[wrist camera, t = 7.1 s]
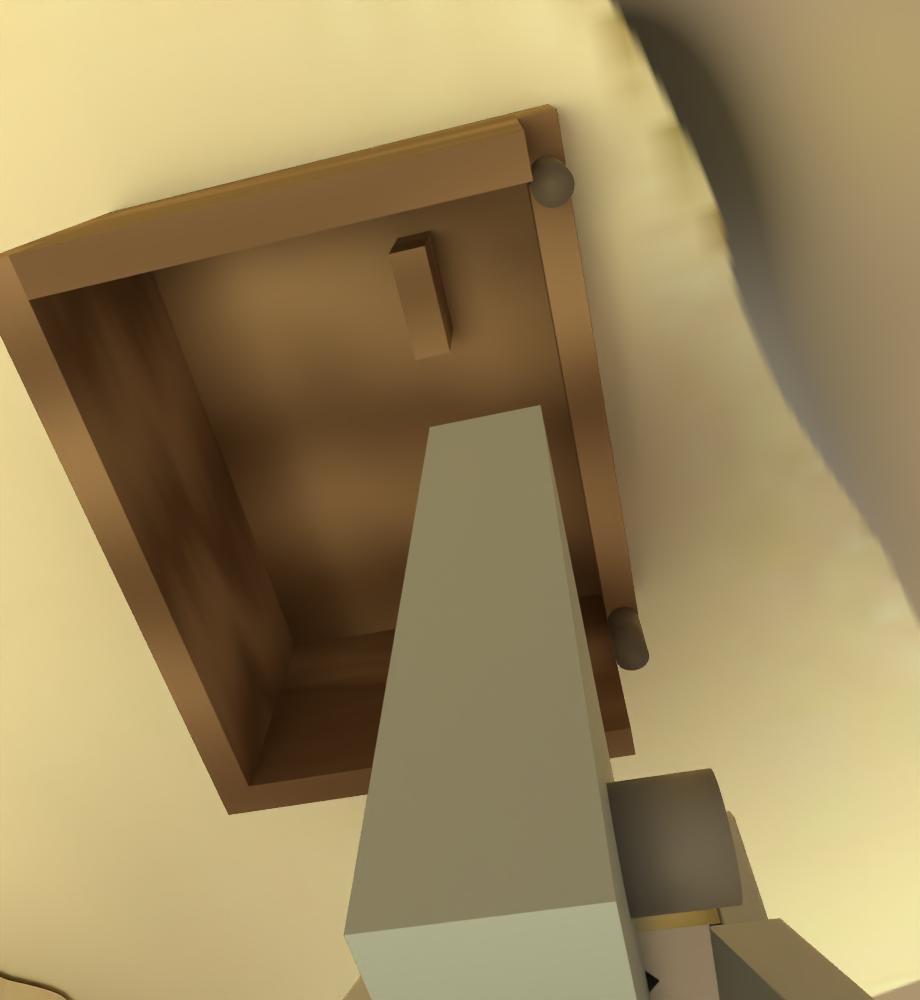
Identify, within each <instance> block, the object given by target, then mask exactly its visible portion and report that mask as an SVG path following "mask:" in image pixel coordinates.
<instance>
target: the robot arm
mask: <svg viewBox="0 0 920 1000" xmlns="http://www.w3.org/2000/svg"><path fill="white" fill-rule="evenodd" d="M726 814H727V818H728V821H729V826H730V830H731V834H732V838H733V843H734V847H735V852H736V857H737V862H738V868H739V873H740V880H741V887H742V896H743V903H742V905H740V906H731V907H723V908H715V909H707V910H699V911H690V912H682V913H674V914H666V915H657V916H649V917H641V918H635V923H636V929H637V935H638V939H639V944H640V949H641V954H642V959H643V964H644V969H645V971H646V977H647V983H648V989H649V994H650V999H651V1000H874V999H873V998H872V997H871V996H870V995H868V994H867V993H866V992H865V991H864V990H863V989H861V988H860V987H859V986H858V985H857V984H856V983H854V982H853V981H852V980H851V979H850V978H849V977H847V976H846V975H845V974H844V973H843V972H842V971H841V970H839V969H838V968H837V967H836V966H835V965H834V964H832V963H831V962H830V961H829V960H828V959H827V958H825V957H824V956H823V955H822V954H821V953H820V952H818V951H817V950H816V949H815V948H814V947H813V946H812V945H810V944H809V943H808V942H807V941H806V940H805V939H803V938H802V937H801V936H800V935H799V934H798V933H796V932H795V931H794V930H793V929H792V928H791V927H789V926H788V925H787V924H786V923H785V922H784V921H783V920H781V919H780V918H778V919H768V917H767V914H766V911H765V908H764V905H763V902H762V899H761V896H760V893H759V890H758V887H757V884H756V881H755V878H754V875H753V872H752V869H751V866H750V863H749V860H748V857H747V854H746V851H745V848H744V845H743V842H742V839H741V836H740V833H739V830H738V827H737V824H736V820H735V817H734V816H733V815H732V814H731V812H730V811H728V812H726ZM0 1000H66V999H65V998H64V997H62V996H61V995H59V994H57V993H54V992H52V991H49V990H46V989H42V988H39V987H35V986H31V985H27V984H23V983H18V982H14V981H10V980H6V979H4V978H1V977H0ZM343 1000H371V997H370V995H369V993H368V990H367V988H366V986H365V983H364V981H363V979H362V976H360V977H359V978H358V980H357V981H356V982H355V984H354V985H353V986H352V988H351V989H350V990H349V992H348V993H347V994H346V996H345V997H344V999H343Z"/></svg>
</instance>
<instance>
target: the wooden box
mask: <svg viewBox="0 0 920 1000" xmlns="http://www.w3.org/2000/svg"><path fill="white" fill-rule="evenodd" d="M573 190H574V180H573V176H572V174H571V172H570V171H569V170H568V169H567V167H566V165H565V158H564V152H563V146H562V140H561V134H560V127H559V121H558V115H557V109H555V108H553V107H552V106H550V105H548V104H547V105H543V106H539V107H535V108H531V109H527V110H523V111H519V112H515V113H511V114H507V115H503V116H498V117H494V118H490V119H486V120H482V121H478V122H474V123H470V124H466V125H462V126H458V127H454V128H450V129H446V130H442V131H438V132H434V133H430V134H426V135H422V136H417V137H413V138H409V139H405V140H401V141H397V142H393V143H389V144H385V145H381V146H377V147H373V148H369V149H365V150H361V151H357V152H353V153H349V154H345V155H341V156H337V157H332V158H328V159H324V160H320V161H316V162H312V163H308V164H304V165H300V166H296V167H292V168H288V169H284V170H280V171H276V172H272V173H268V174H264V175H260V176H256V177H251V178H247V179H243V180H239V181H235V182H231V183H227V184H223V185H219V186H215V187H211V188H207V189H203V190H199V191H195V192H191V193H187V194H183V195H179V196H175V197H171V198H166V199H162V200H158V201H154V202H150V203H146V204H142V205H138V206H134V207H130V208H126V209H122V210H118V211H114V212H110V213H107V214H105V215H102V216H99V217H97V218H94V219H91V220H89V221H86V222H83V223H81V224H78V225H75V226H72V227H70V228H67V229H64V230H62V231H59V232H56V233H54V234H51V235H48V236H46V237H43V238H40V239H38V240H35V241H32V242H30V243H27V244H24V245H22V246H19V247H16V248H14V249H11V250H8V251H6V252H3V253H0V336H1V338H2V340H3V342H4V344H5V346H6V348H7V350H8V353H9V355H10V357H11V359H12V361H13V363H14V365H15V367H16V369H17V371H18V374H19V376H20V378H21V380H22V382H23V384H24V386H25V388H26V390H27V392H28V395H29V397H30V399H31V401H32V403H33V405H34V407H35V409H36V411H37V413H38V416H39V418H40V420H41V422H42V424H43V426H44V428H45V430H46V432H47V434H48V437H49V439H50V441H51V443H52V445H53V447H54V449H55V451H56V453H57V455H58V458H59V460H60V462H61V464H62V466H63V468H64V470H65V472H66V474H67V476H68V479H69V481H70V483H71V485H72V487H73V489H74V491H75V493H76V495H77V497H78V500H79V502H80V504H81V506H82V508H83V510H84V512H85V514H86V516H87V518H88V521H89V523H90V525H91V527H92V529H93V531H94V533H95V535H96V537H97V539H98V542H99V544H100V546H101V548H102V550H103V552H104V554H105V556H106V558H107V560H108V563H109V565H110V567H111V569H112V571H113V573H114V575H115V577H116V579H117V581H118V584H119V586H120V588H121V590H122V592H123V594H124V596H125V598H126V600H127V603H128V605H129V607H130V609H131V611H132V613H133V615H134V617H135V619H136V621H137V624H138V626H139V628H140V630H141V632H142V634H143V636H144V638H145V640H146V642H147V645H148V647H149V649H150V651H151V653H152V655H153V657H154V659H155V661H156V663H157V666H158V668H159V670H160V672H161V674H162V676H163V678H164V680H165V682H166V684H167V687H168V689H169V691H170V693H171V695H172V697H173V699H174V701H175V703H176V705H177V708H178V710H179V712H180V714H181V716H182V718H183V720H184V722H185V724H186V726H187V729H188V731H189V733H190V735H191V737H192V739H193V741H194V743H195V745H196V747H197V750H198V752H199V754H200V756H201V758H202V760H203V762H204V764H205V766H206V768H207V771H208V773H209V775H210V777H211V779H212V781H213V783H214V785H215V787H216V789H217V792H218V794H219V796H220V798H221V800H222V802H223V804H224V806H225V808H226V810H227V813H228V815H231V814H238V813H245V812H251V811H258V810H265V809H272V808H278V807H285V806H292V805H299V804H305V803H312V802H319V801H326V800H332V799H339V798H346V797H352V796H359V795H366V794H368V790H369V784H370V778H371V772H372V766H373V760H374V754H375V748H376V743H377V737H378V731H379V725H380V719H381V713H382V707H383V701H384V695H385V689H386V683H387V677H388V672H389V666H390V660H391V654H392V648H393V642H394V636H395V630H396V624H397V618H398V612H399V606H400V601H401V595H402V589H403V583H404V577H405V571H406V565H407V559H408V553H409V547H410V541H411V535H412V530H413V524H414V518H415V512H416V506H417V500H418V494H419V488H420V482H421V476H422V470H423V464H424V459H425V453H426V447H427V441H428V435H429V429H430V427H434V426H438V425H443V424H448V423H453V422H458V421H463V420H468V419H473V418H478V417H483V416H488V415H493V414H498V413H503V412H508V411H513V410H518V409H523V408H528V407H533V406H538V405H541V410H542V415H543V421H544V426H545V431H546V436H547V441H548V446H549V451H550V456H551V461H552V467H553V472H554V477H555V482H556V487H557V492H558V497H559V502H560V507H561V513H562V518H563V523H564V528H565V533H566V538H567V543H568V548H569V553H570V559H571V564H572V569H573V574H574V579H575V584H576V589H577V594H578V599H579V604H580V610H581V615H582V620H583V625H584V630H585V635H586V640H587V645H588V650H589V656H590V661H591V666H592V671H593V676H594V681H595V686H596V691H597V696H598V702H599V707H600V712H601V717H602V722H603V727H604V732H605V737H606V742H607V747H608V753H609V758H615V757H622V756H628V755H635V749H634V744H633V738H632V733H631V727H630V723H629V718H628V714H627V709H626V704H625V700H624V695H623V691H622V686H621V682H620V677H619V672H618V668H617V663H618V665H619V666H620V667H621V668H623V669H626V670H637V669H640V668H642V667H643V666H645V665H646V663H647V662H648V659H649V653H648V650H647V646H646V642H645V639H644V635H643V632H642V628H641V624H640V621H639V617H638V611H637V605H636V599H635V592H634V586H633V580H632V574H631V568H630V561H629V555H628V549H627V543H626V537H625V530H624V524H623V518H622V512H621V506H620V499H619V493H618V487H617V481H616V475H615V468H614V462H613V456H612V450H611V444H610V437H609V431H608V425H607V419H606V413H605V406H604V400H603V394H602V388H601V382H600V375H599V369H598V363H597V357H596V351H595V344H594V338H593V332H592V326H591V320H590V313H589V307H588V301H587V295H586V289H585V282H584V276H583V270H582V264H581V258H580V251H579V245H578V239H577V233H576V227H575V220H574V214H573V208H572V202H571V195H572V193H573ZM615 658H616V659H615ZM616 661H617V663H616Z"/></svg>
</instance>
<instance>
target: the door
mask: <svg viewBox="0 0 920 1000" xmlns="http://www.w3.org/2000/svg"><path fill="white" fill-rule="evenodd" d="M742 903H743V896H742V887H741V880H740V873H739V868H738V862H737V857H736V852H735V847H734V843H733V838H732V834H731V830H730V826H729V821H728V818H727V814H726V810H725V806H724V803H723V799H722V796H721V792H720V789H719V786H718V783H717V780H716V778H715V775H714V773H713V771H712V769H710V768H709V769H702V770H695V771H688V772H681V773H674V774H667V775H660V776H653V777H646V778H639V779H632V780H625V781H618V782H614V778H613V773H612V768H611V763H610V758H609V753H608V747H607V742H606V737H605V732H604V727H603V722H602V717H601V712H600V707H599V702H598V696H597V691H596V686H595V681H594V676H593V671H592V666H591V661H590V656H589V650H588V645H587V640H586V635H585V630H584V625H583V620H582V615H581V610H580V604H579V599H578V594H577V589H576V584H575V579H574V574H573V569H572V564H571V559H570V553H569V548H568V543H567V538H566V533H565V528H564V523H563V518H562V513H561V507H560V502H559V497H558V492H557V487H556V482H555V477H554V472H553V467H552V461H551V456H550V451H549V446H548V441H547V436H546V431H545V426H544V421H543V415H542V410H541V405H538V406H533V407H528V408H523V409H518V410H513V411H508V412H503V413H498V414H493V415H488V416H483V417H478V418H473V419H468V420H463V421H458V422H453V423H448V424H443V425H438V426H434V427H430V429H429V435H428V441H427V447H426V453H425V459H424V464H423V470H422V476H421V482H420V488H419V494H418V500H417V506H416V512H415V518H414V524H413V530H412V535H411V541H410V547H409V553H408V559H407V565H406V571H405V577H404V583H403V589H402V595H401V601H400V606H399V612H398V618H397V624H396V630H395V636H394V642H393V648H392V654H391V660H390V666H389V672H388V677H387V683H386V689H385V695H384V701H383V707H382V713H381V719H380V725H379V731H378V737H377V743H376V748H375V754H374V760H373V766H372V772H371V778H370V784H369V790H368V796H367V802H366V808H365V814H364V820H363V825H362V831H361V837H360V843H359V849H358V855H357V861H356V867H355V873H354V879H353V885H352V891H351V896H350V902H349V908H348V914H347V920H346V926H345V932H344V937H345V939H346V941H347V944H348V946H349V948H350V951H351V953H352V955H353V958H354V960H355V962H356V965H357V967H358V969H359V972H360V974H361V976H362V979H363V981H364V983H365V986H366V988H367V990H368V993H369V995H370V997H371V1000H651V999H650V994H649V989H648V983H647V977H646V971H645V969H644V964H643V959H642V954H641V949H640V944H639V939H638V935H637V929H636V923H635V918H641V917H649V916H657V915H666V914H674V913H682V912H690V911H699V910H707V909H715V908H723V907H731V906H740V905H742Z"/></svg>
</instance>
